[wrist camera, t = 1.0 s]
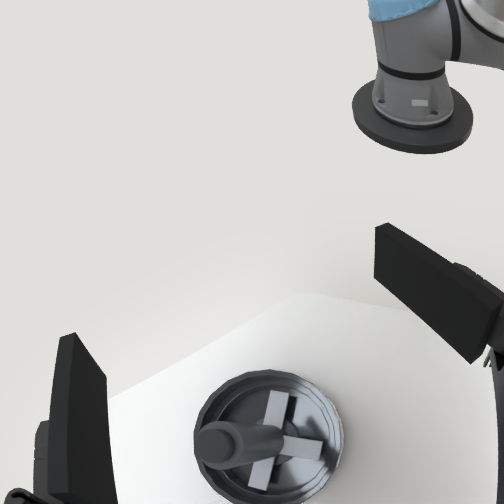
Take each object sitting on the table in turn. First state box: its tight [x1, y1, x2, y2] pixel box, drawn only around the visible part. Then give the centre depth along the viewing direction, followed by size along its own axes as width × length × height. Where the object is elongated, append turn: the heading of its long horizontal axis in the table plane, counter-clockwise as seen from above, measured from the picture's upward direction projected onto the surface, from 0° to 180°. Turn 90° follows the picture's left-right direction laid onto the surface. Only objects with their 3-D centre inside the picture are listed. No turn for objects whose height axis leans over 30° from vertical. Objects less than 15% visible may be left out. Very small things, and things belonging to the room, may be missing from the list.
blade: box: [195, 390, 323, 490], centre depth 24 cm, size 11×11×16 cm
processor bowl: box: [194, 369, 344, 504], centre depth 29 cm, size 15×15×6 cm
